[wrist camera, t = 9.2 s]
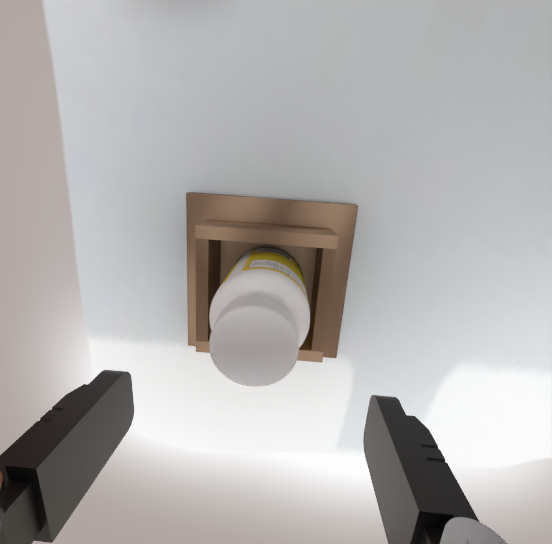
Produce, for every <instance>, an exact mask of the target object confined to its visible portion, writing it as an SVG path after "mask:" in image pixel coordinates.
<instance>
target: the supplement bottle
mask: <svg viewBox="0 0 552 544" xmlns="http://www.w3.org/2000/svg"><path fill="white" fill-rule="evenodd" d="M209 321H210V327H211V335H210V340H209V349H210V354H211V357H212V360H213V362H214V364H215V365H216V367H217V368H218V369H219V370H220V372H221V373H222V374H224V375H225V376H226V377H227V378H229V379H231V380H232V381H234V382H236V383H239V384H242V385H247V386H264V385H269V384H272V383H275V382H277V381H279V380H281V379H282V378H283V377H285V376H286V375H287V374H288V373H289V372H290V371H291V370H292V368H293V367H294V365H295V363H296V361H297V358H298V354H299V348H300V346H301V345H302V344H303V342H304V340H305V338H306V336H307V334H308V331H309V326H310V309H309V303H308V298H307V293H306V287H305V282H304V277H303V273H302V270H301V268H300V266H299V264H298V263H297V261H296V260H295V259H294V258H293V256H291V255H290V254H289V253H288V252H286V251H284V250H282V249H280V248H277V247H272V246H261V247H256V248H253V249H251V250H249V251H247V252H246V253H244V254H243V255H242V256H241V257H240V258H239V259H238V260H237V261H236V263H235V264H234V266H233V267H232V269H231V270H230V272H229V273H228V275H227V276H226V278H225V280H224V281H223V283H222V284H221V286H220V287H219V289H218V290H217V292H216V294H215V296H214V298H213V300H212V303H211V307H210V313H209Z"/></svg>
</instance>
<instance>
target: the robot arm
mask: <svg viewBox="0 0 552 544" xmlns="http://www.w3.org/2000/svg"><path fill="white" fill-rule="evenodd" d="M133 415H134V404H133V392H132V381H131V375H130V373H129V372H123V371H112V370H104V371H102V372H101V373H100V374H99V375H98V376H97V377H96V378H95V379H94V380H93V381H92V382H91V383H90V384H88V385H85V384H84V385H82V386H81V387H79V388H77V389H75V390H74V391H72V392H70V393H68V394H67V395H65V396H64V397H63V398H62V399H61V400H60V401H59V402H58V403H57V404H56V405H55V406H53V407H52V410H49V411H48V412H47V413H46V414H45V415H44V416H43V417H41V419H40V421H37V422H36V423H35V424H34V425H33V426H32V427H31V428H30V429H28V430H27V431H26V432H25V433H24V434H23V435H22V436H21V437H20V438H19V439H18V440H16V441H15V442H14V443H13V444H12V445H11V446H10V447H9V448H8V449H7V450H6V451H5V452H4V453H2V454H1V455H0V544H31V543H32V542H33V541H43V542H51V543H52V542H53V541H54V539H55V538H56V536H57V535H58V533H59V532H60V530H61V529H62V528H63V526H64V524H65V523H66V522H67V520H68V519H69V517H70V516H71V514H72V512H73V511H74V510H75V508H76V507H77V505H78V504H79V502H80V501H81V499H82V498H83V496H84V495H85V493H86V492H87V491H88V489H89V488H90V486H91V485H92V483H93V482H94V480H95V478H96V477H97V476H98V474H99V473H100V471H101V470H102V468H103V467H104V465H105V464H106V462H107V461H108V459H109V458H110V456H111V455H112V454H113V452H114V451H115V449H116V448H117V446H118V445H119V443H120V442H121V440H122V438H123V437H124V436H125V434H126V433H127V431H128V430H129V428H130V426H131V423H132V420H133ZM364 452H365V457H366V460H367V464H368V468H369V472H370V476H371V479H372V483H373V487H374V491H375V495H376V498H377V502H378V506H379V510H380V513H381V517H382V521H383V525H384V528H385V532H386V537H387V540H388V544H507V543H506V542H505V541H504V540H503V539H502V538H501V537H500V536H499V535H498V534H496V533H495V532H494V531H493V530H492V529H490V528H489V527H487V526H485V525H484V524H482V523H480V522H479V520H478V519H477V517H476V515H475V513H474V511H473V509H472V508H471V506H470V504H469V502H468V500H467V499H466V497H465V495H464V493H463V491H462V489H461V488H460V486H459V484H458V482H457V480H456V479H455V477H454V475H453V473H452V471H451V469H450V468H449V466H448V464H447V463H445V459H444V457H443V455H442V453H441V451H440V449H438V446H437V444H436V442H435V440H434V438H433V437H432V435H431V433H430V431H429V430H428V429H427V428H426V427H425V426H424V425H423V424H422V423H421V422H420V421H419V420H418V419H417V418H416V417H415V416H407V415H406V414H405V412H404V410H403V408H402V406H401V404H400V402H399V400H398V399H397V398H396V397H388V396H377V395H372V396H371V398H370V403H369V408H368V414H367V419H366V424H365V430H364Z"/></svg>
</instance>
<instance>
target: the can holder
mask: <svg viewBox="0 0 552 544" xmlns="http://www.w3.org/2000/svg"><path fill="white" fill-rule="evenodd" d="M186 204H187V285H188V345H190V346H196V352H207V353H210V349H209V340H210V335H211V327H210V321H209V313H210V307H211V303H212V300H213V298H214V296H215V294H216V292H217V290H218V289H219V287H220V286H221V284H222V283H223V281H224V280H225V278H226V276H227V275H228V273H229V272H230V270H231V269H232V267H233V266H234V264H235V263H236V261H237V260H238V259H239V258H240V257H241V256H242V255H243V254H244V253H246V252H247V251H249V250H251V249H253V248H256V247H261V246H272V247H277V248H280V249H282V250H284V251H286V252H288V253H289V254H290V255H291V256H293V258H294V259H295V260H296V261H297V263H298V264H299V266H300V268H301V270H302V273H303V277H304V282H305V287H306V293H307V298H308V303H309V309H310V326H309V331H308V334H307V336H306V338H305V340H304V342H303V344H302V345H301V346H300V348H299V354H298V358H297V360H300V361H312V362H322V359H323V357H330V358H336V356H337V349H338V342H339V335H340V328H341V321H342V314H343V307H344V300H345V293H346V286H347V279H348V272H349V266H350V259H351V252H352V245H353V238H354V231H355V224H356V217H357V210H358V205H352V204H339V203H326V202H312V201H299V200H285V199H272V198H258V197H245V196H232V195H218V194H205V193H186Z"/></svg>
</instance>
